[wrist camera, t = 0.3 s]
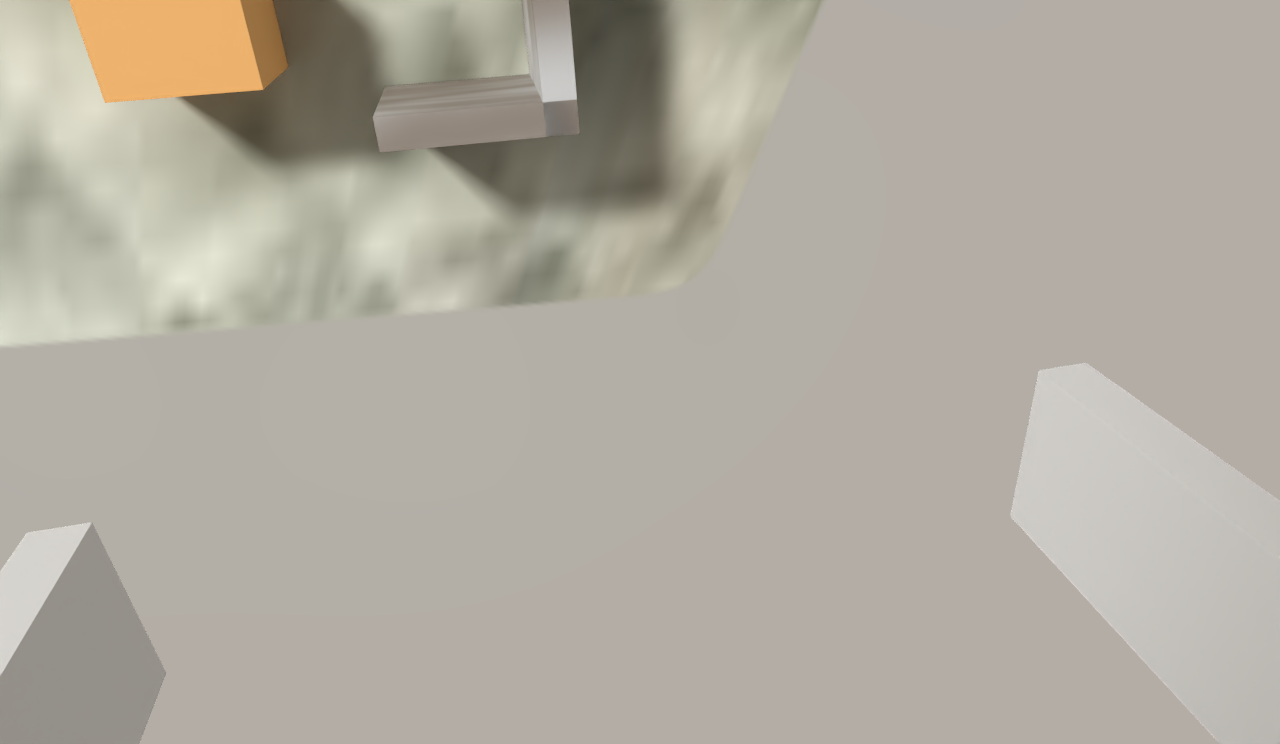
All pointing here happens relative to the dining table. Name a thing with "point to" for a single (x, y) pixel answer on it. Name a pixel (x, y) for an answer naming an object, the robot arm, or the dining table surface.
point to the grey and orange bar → (180, 46)
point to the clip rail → (491, 95)
